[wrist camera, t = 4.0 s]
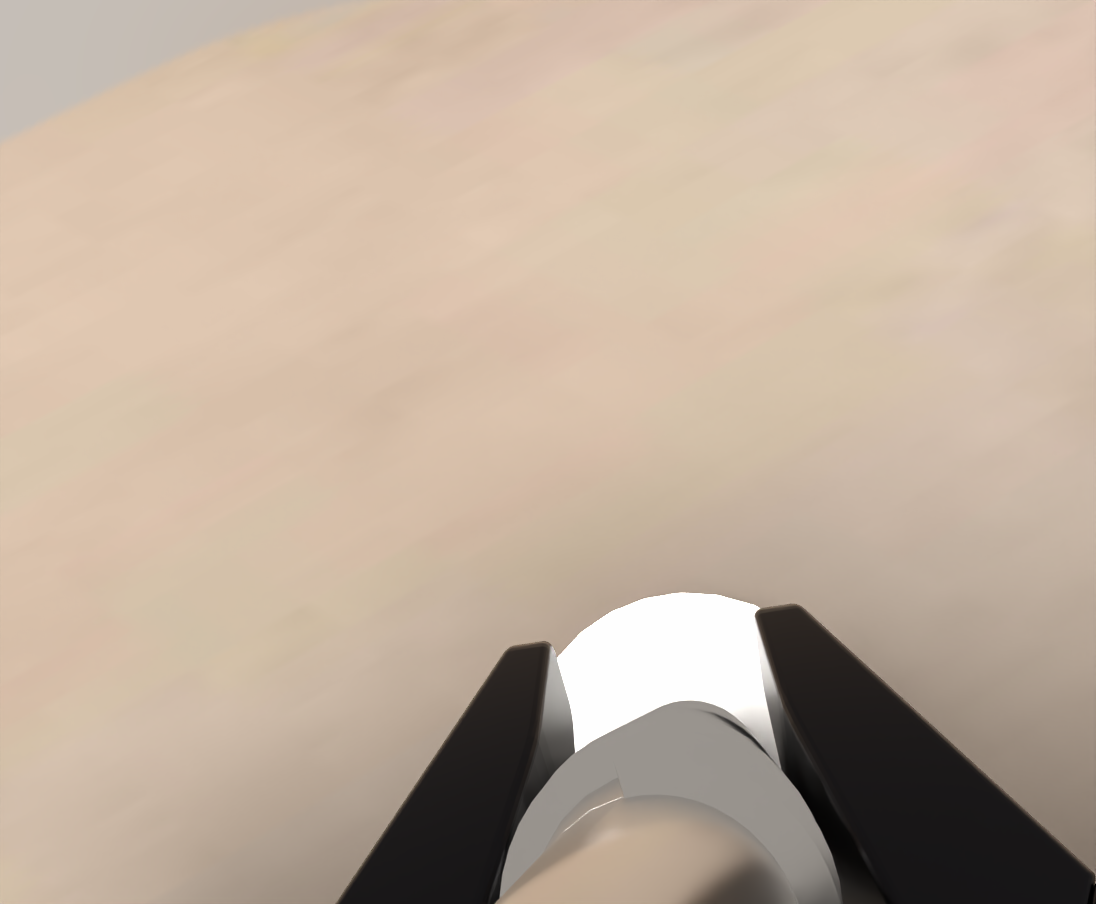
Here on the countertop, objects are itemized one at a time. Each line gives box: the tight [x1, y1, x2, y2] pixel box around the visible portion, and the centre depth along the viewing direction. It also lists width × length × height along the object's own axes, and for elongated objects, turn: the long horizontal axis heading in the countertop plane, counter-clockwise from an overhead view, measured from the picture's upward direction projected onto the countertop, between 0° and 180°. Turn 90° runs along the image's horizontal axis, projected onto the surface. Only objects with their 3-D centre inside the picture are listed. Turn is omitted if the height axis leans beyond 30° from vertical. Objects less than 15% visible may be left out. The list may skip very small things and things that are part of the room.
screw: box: [495, 593, 843, 904], centre depth 8 cm, size 13×5×5 cm
